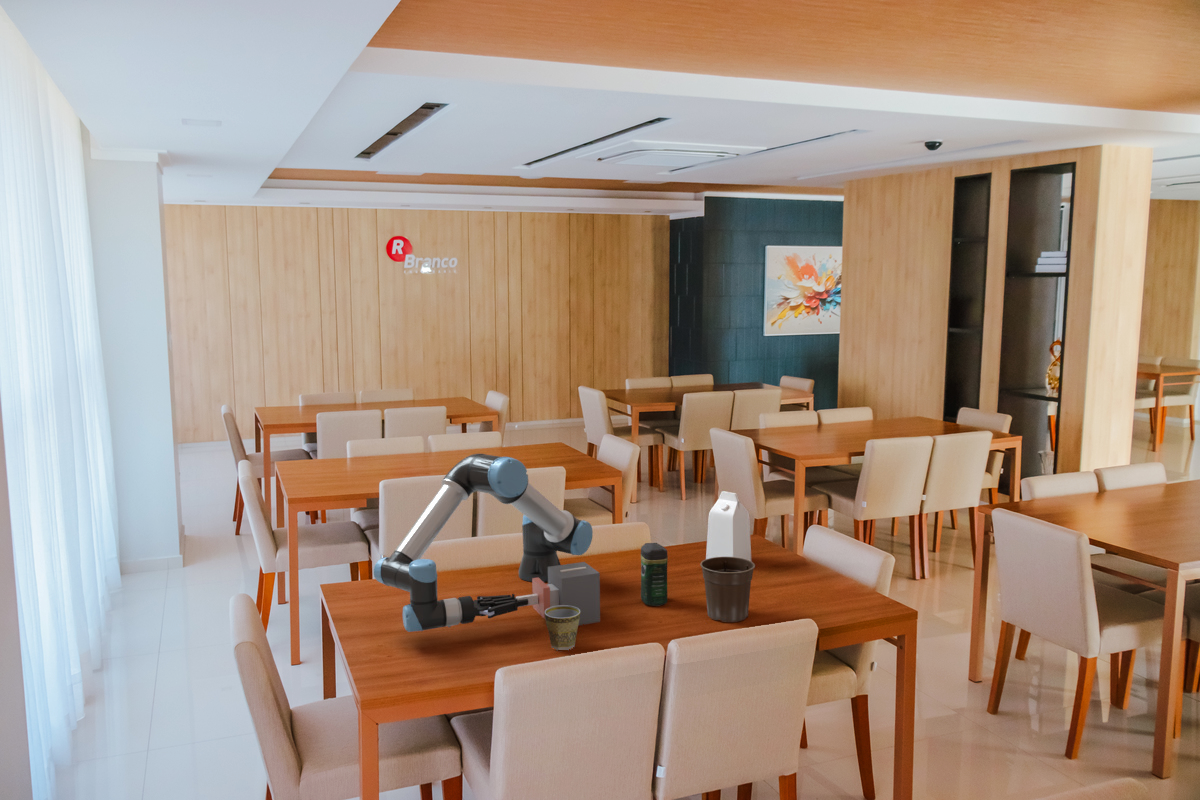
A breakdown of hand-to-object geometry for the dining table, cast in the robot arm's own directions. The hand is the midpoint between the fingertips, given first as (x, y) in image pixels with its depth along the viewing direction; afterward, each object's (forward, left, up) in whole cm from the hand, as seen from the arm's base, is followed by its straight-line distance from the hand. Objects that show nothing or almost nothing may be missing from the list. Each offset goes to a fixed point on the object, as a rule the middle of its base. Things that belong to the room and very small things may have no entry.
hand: (537, 598), depth 250 cm
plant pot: (+31, +48, -8) cm, 58 cm away
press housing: (+3, +11, -8) cm, 14 cm away
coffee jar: (+8, +39, -8) cm, 41 cm away
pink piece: (+2, +7, -4) cm, 8 cm away
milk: (-5, +87, -8) cm, 88 cm away
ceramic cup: (+17, -3, -8) cm, 19 cm away
